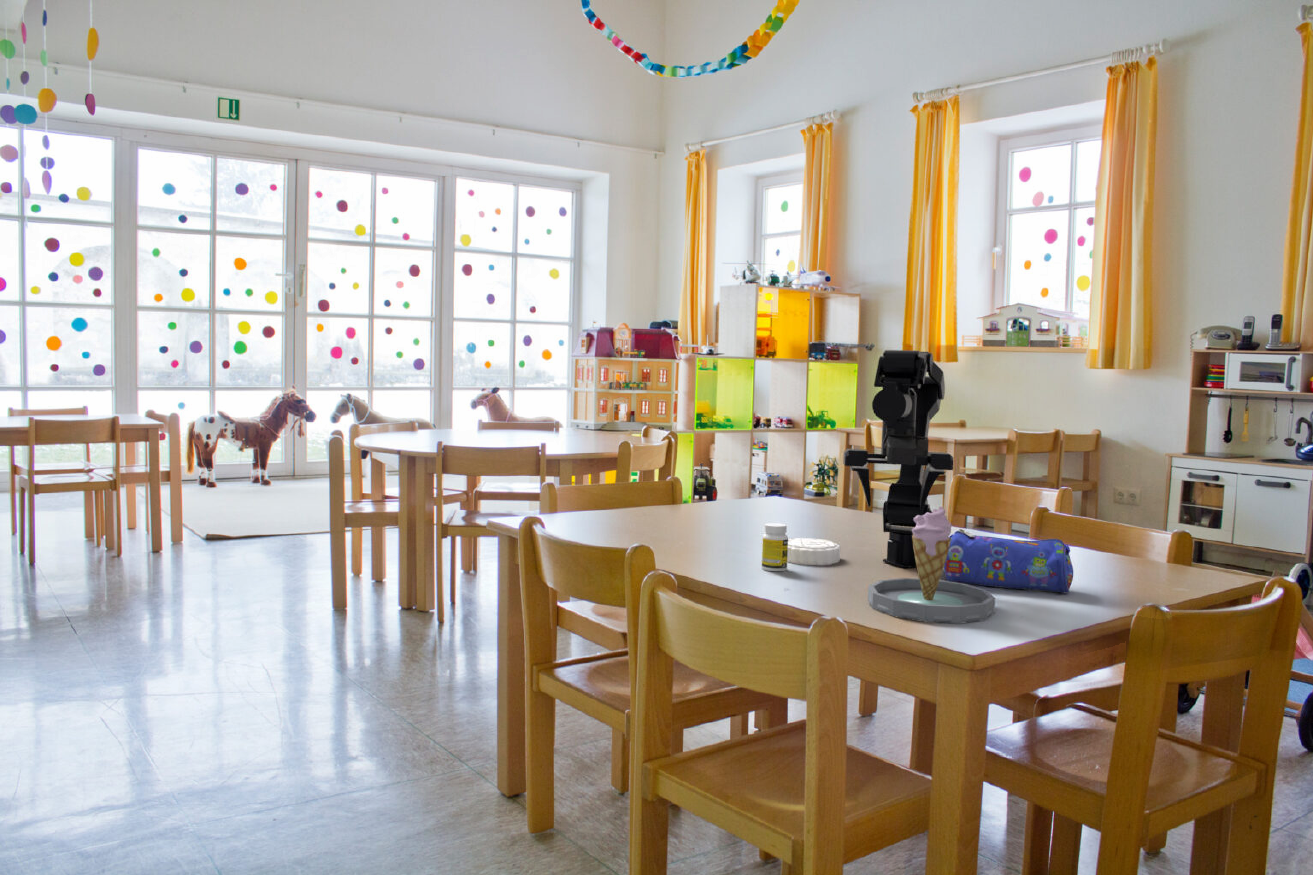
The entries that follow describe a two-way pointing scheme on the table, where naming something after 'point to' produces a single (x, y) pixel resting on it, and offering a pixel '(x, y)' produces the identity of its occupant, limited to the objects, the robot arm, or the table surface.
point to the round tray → (931, 601)
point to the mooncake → (812, 551)
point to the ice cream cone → (931, 548)
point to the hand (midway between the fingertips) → (895, 507)
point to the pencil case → (1009, 562)
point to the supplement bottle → (775, 547)
